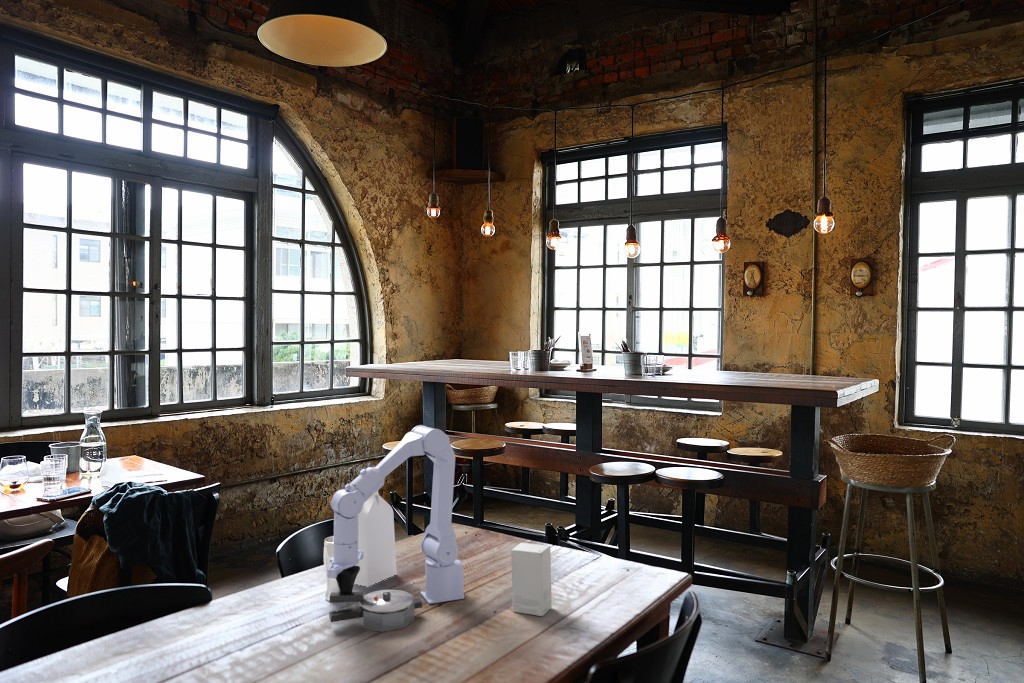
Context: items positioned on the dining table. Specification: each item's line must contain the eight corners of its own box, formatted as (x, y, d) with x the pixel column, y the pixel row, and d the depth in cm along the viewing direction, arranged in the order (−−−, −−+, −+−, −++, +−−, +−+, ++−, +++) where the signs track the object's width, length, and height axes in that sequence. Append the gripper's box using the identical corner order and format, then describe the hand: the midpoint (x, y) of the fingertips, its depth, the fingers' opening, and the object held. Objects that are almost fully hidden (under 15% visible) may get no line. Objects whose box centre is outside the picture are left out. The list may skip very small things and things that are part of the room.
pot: (413, 605, 176) (413, 589, 176) (427, 624, 165) (427, 607, 165) (325, 619, 167) (325, 602, 167) (334, 640, 157) (334, 622, 156)
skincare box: (552, 608, 175) (552, 545, 175) (542, 618, 169) (542, 553, 169) (521, 602, 179) (521, 541, 178) (510, 612, 173) (510, 548, 172)
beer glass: (344, 603, 177) (344, 544, 177) (318, 601, 179) (318, 542, 178) (356, 593, 184) (356, 536, 184) (331, 591, 186) (331, 534, 185)
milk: (396, 575, 198) (396, 482, 198) (367, 587, 188) (367, 490, 188) (365, 567, 205) (365, 477, 204) (335, 578, 195) (335, 484, 194)
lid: (414, 592, 174) (414, 582, 174) (411, 612, 162) (411, 601, 162) (334, 594, 172) (334, 584, 172) (326, 615, 160) (326, 604, 160)
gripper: (345, 531, 176) (345, 585, 177) (315, 549, 162) (315, 608, 162) (371, 533, 175) (371, 588, 175) (343, 551, 160) (343, 611, 161)
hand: (346, 598), depth 169 cm, fingers closed
